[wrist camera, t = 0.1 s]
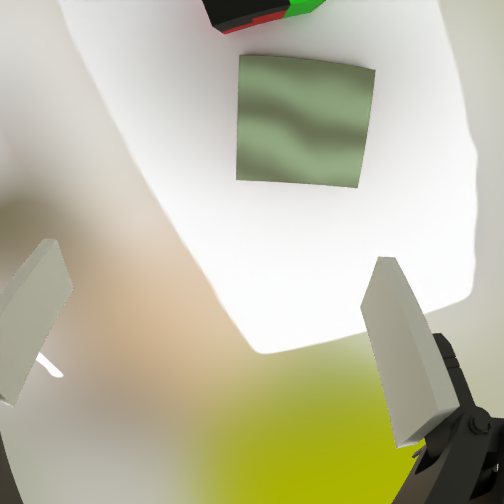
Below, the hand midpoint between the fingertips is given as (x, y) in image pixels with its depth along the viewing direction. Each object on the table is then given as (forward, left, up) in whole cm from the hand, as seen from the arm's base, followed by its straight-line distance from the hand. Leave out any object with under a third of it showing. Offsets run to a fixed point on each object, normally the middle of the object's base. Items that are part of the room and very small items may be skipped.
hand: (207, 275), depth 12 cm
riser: (-1, +7, -28) cm, 29 cm away
